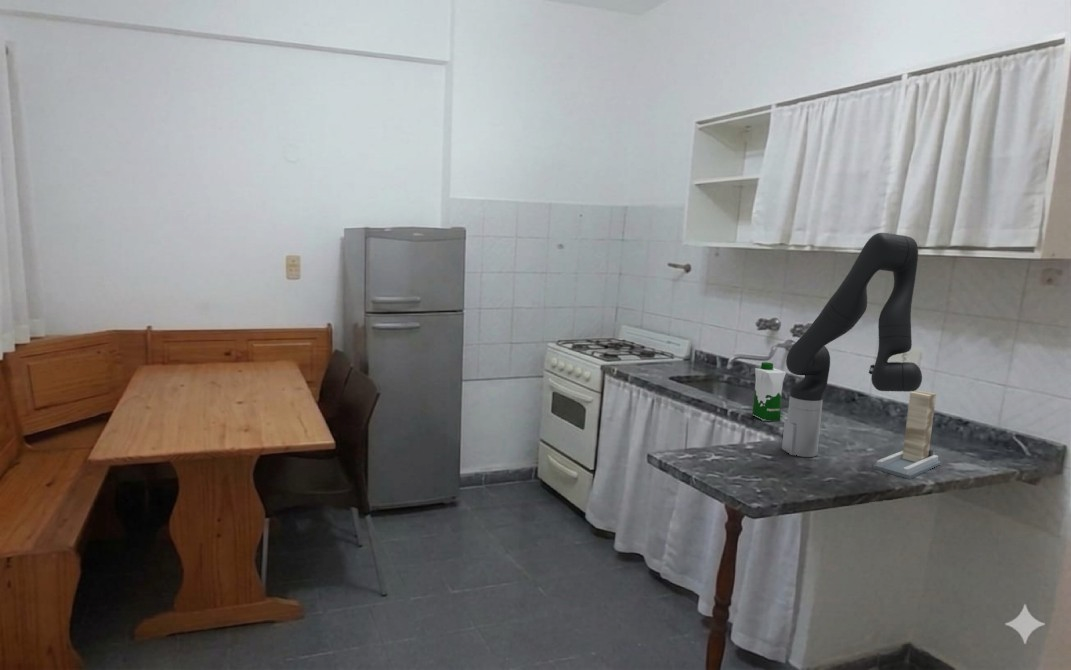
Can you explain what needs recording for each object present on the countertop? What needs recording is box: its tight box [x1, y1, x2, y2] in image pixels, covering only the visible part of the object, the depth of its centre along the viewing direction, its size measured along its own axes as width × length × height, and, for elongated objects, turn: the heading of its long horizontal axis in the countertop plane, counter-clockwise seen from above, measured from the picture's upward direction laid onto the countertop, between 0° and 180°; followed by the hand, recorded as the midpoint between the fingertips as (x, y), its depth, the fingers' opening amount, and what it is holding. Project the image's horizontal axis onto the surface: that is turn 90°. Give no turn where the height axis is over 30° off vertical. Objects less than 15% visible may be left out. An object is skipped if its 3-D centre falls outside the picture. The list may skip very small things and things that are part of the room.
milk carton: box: [752, 361, 787, 421], centre depth 235 cm, size 9×9×20 cm
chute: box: [872, 448, 942, 480], centre depth 188 cm, size 21×10×4 cm, turn 128°
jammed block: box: [902, 389, 937, 462], centre depth 190 cm, size 5×5×20 cm
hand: (893, 374), depth 187 cm, fingers closed
